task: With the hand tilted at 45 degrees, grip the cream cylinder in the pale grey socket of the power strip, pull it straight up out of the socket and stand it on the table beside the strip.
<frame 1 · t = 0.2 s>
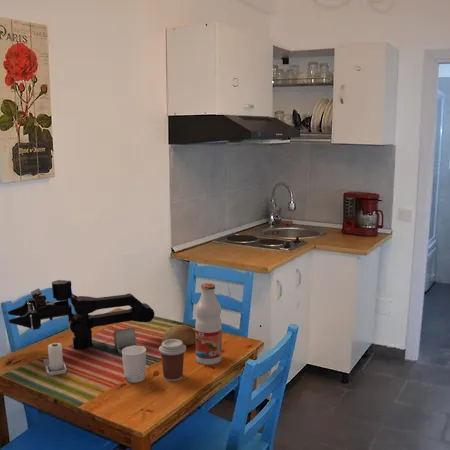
hand: (8, 317, 192), 16 cm above the table, tool horizontal, fingers open, 9 cm apart
bread roll: (180, 346, 209), on the table
cream cylinder: (56, 370, 183), point 1 cm above the table, touching power strip
coffee cup: (173, 377, 182), on the table
power strip: (55, 369, 187), on the table
fruit juice: (208, 360, 195), on the table
ceramic mug: (126, 350, 205), on the table
white cup: (135, 379, 181), on the table
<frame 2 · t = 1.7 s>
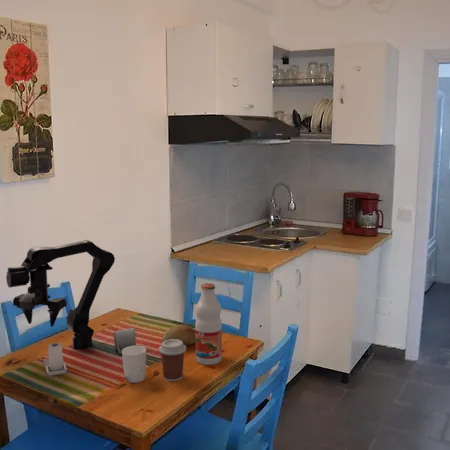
hand: (41, 324, 194), 13 cm above the table, tool pointing down, fingers open, 9 cm apart
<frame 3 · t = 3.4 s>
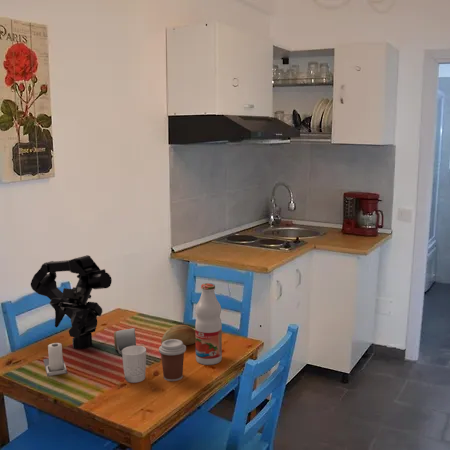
hand: (67, 328, 189), 14 cm above the table, tool tilted 45°, fingers open, 9 cm apart
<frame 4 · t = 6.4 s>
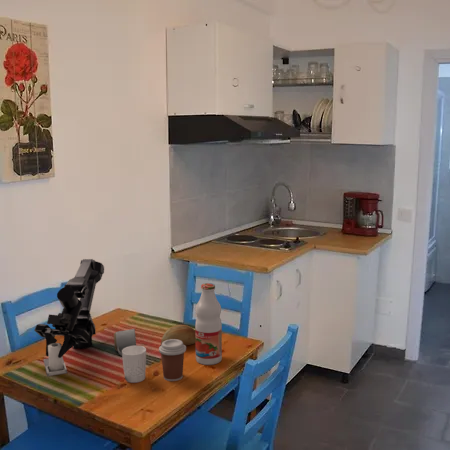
hand: (52, 356, 181), 7 cm above the table, tool tilted 45°, fingers closed on cream cylinder, 4 cm apart
cream cylinder: (56, 370, 183), point 2 cm above the table, touching gripper, power strip
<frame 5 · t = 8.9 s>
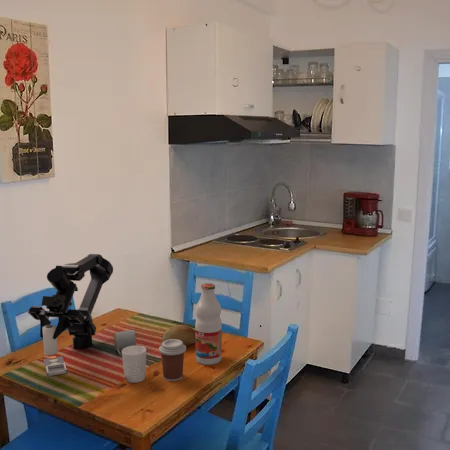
hand: (47, 338, 180), 13 cm above the table, tool tilted 45°, fingers closed on cream cylinder, 4 cm apart
cream cylinder: (51, 352, 183), point 8 cm above the table, touching gripper
when the fingers open (7 cm above the table, at t = 11.4 s): cream cylinder drops 1 cm, on the table.
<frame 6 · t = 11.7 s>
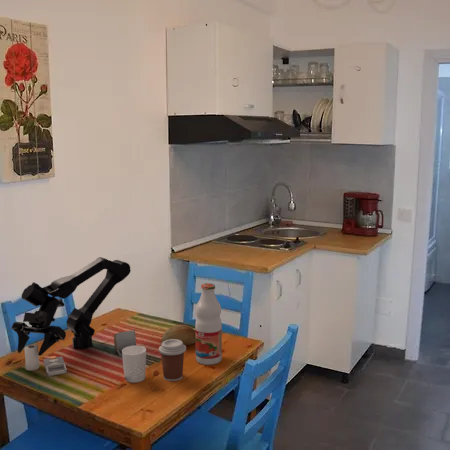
hand: (28, 354, 183), 7 cm above the table, tool tilted 45°, fingers open, 8 cm apart
cream cylinder: (32, 371, 186), on the table
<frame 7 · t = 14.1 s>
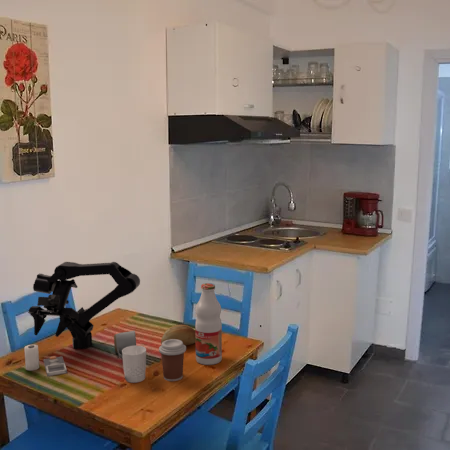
hand: (45, 335, 193), 10 cm above the table, tool tilted 40°, fingers open, 9 cm apart
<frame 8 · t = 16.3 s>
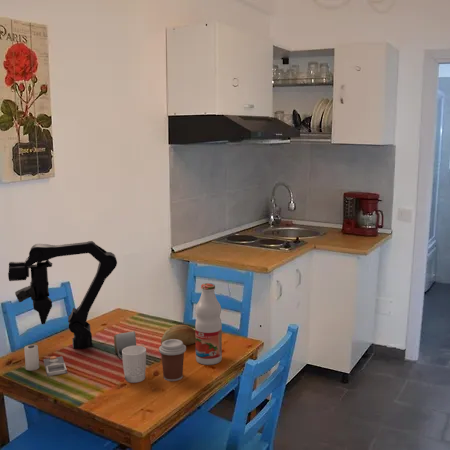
hand: (42, 320, 199), 13 cm above the table, tool pointing down, fingers open, 9 cm apart
at the end: cream cylinder 0.1 cm from the target spot, on the table; cream cylinder tilted 0°; the gripper is holding nothing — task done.
